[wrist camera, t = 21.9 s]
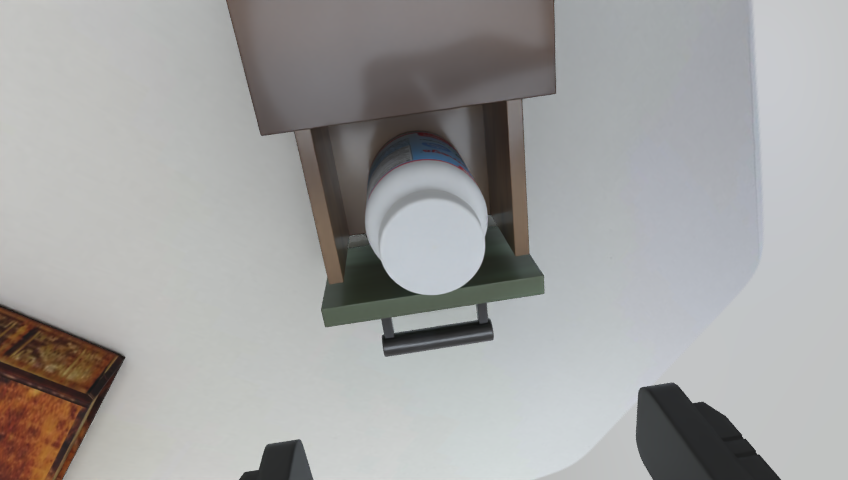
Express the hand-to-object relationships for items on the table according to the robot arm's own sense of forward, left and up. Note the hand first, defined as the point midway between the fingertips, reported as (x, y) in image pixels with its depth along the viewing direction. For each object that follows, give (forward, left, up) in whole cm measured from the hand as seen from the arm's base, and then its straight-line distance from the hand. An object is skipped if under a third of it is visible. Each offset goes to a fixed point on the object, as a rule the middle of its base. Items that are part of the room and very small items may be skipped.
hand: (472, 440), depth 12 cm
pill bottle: (0, 0, -22) cm, 22 cm away
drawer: (0, 0, -23) cm, 23 cm away
